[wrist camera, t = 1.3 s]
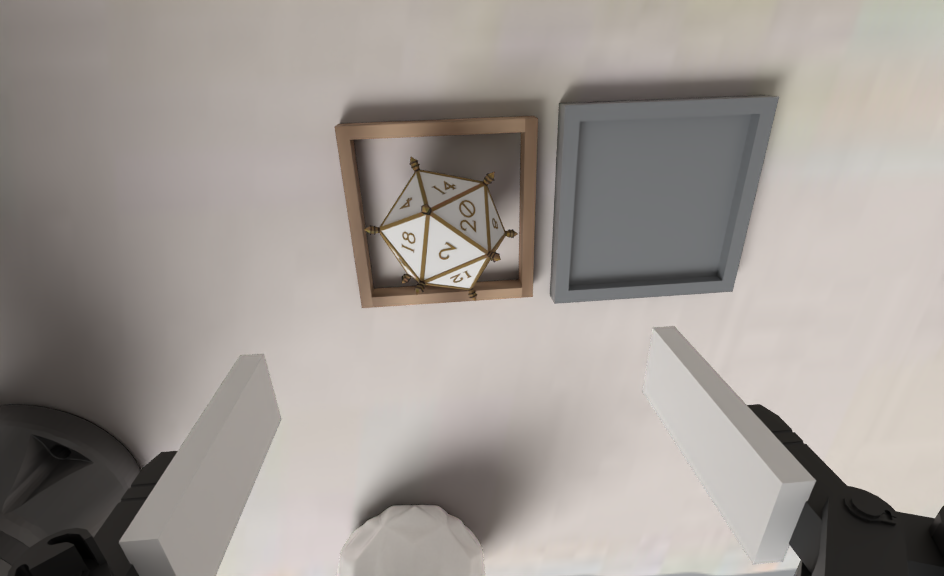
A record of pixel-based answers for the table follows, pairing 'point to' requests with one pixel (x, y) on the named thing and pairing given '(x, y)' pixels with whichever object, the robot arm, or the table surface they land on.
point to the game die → (443, 230)
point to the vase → (412, 545)
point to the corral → (440, 128)
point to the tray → (655, 195)
